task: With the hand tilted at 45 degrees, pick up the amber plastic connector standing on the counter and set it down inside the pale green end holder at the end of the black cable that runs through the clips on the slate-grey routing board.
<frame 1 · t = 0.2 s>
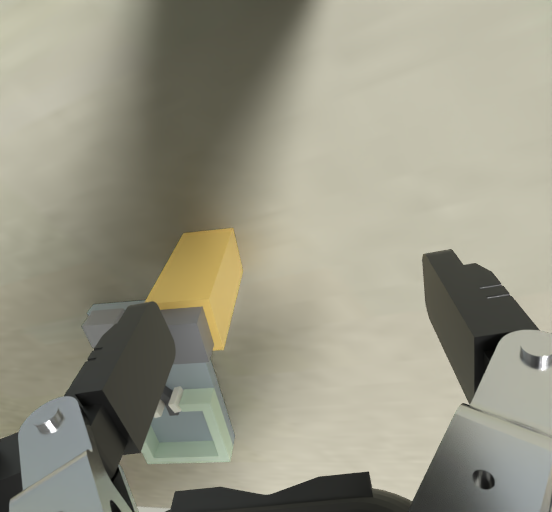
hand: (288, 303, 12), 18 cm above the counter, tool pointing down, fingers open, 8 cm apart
route board: (171, 376, 40), on the counter
connector: (213, 252, 32), on the counter
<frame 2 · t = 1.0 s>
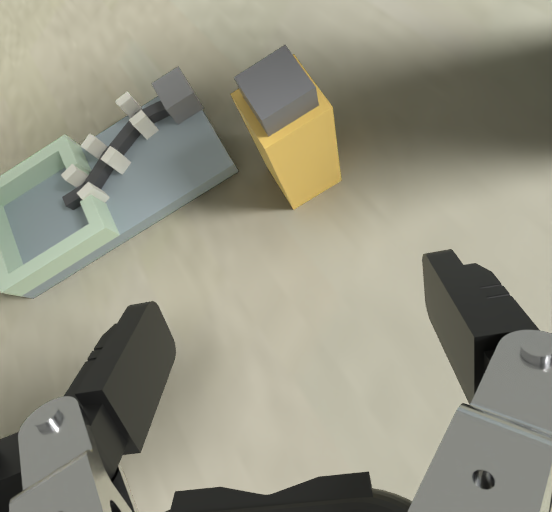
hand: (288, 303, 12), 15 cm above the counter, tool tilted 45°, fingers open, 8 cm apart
route board: (113, 190, 33), on the counter
connector: (303, 173, 30), on the counter
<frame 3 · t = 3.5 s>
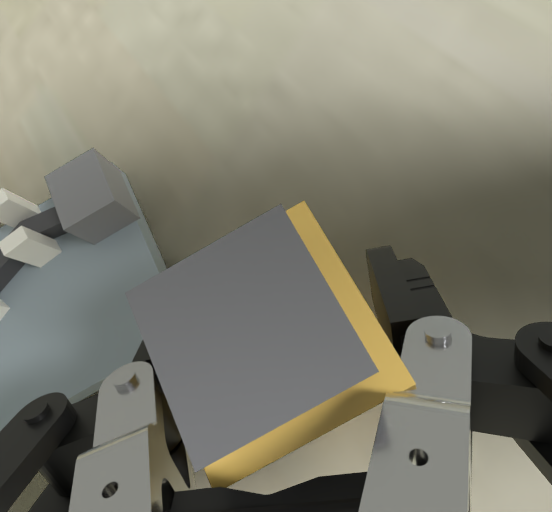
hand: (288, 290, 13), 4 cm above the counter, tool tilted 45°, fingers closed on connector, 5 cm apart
connector: (312, 353, 16), on the counter, touching gripper
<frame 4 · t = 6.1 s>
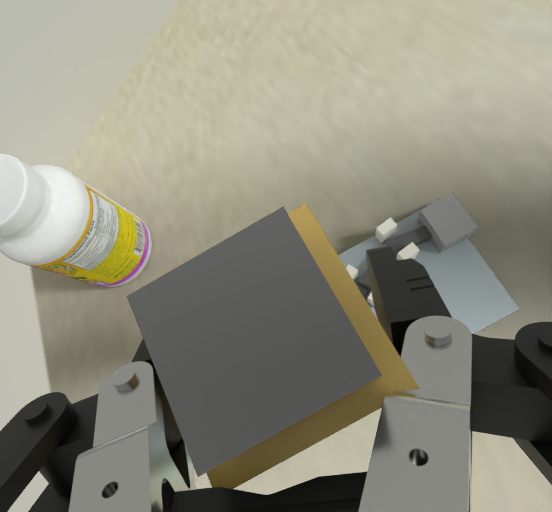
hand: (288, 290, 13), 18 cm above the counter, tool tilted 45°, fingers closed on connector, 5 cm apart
route board: (355, 319, 29), on the counter
connector: (313, 355, 16), point 13 cm above the counter, touching gripper
supplement bottle: (120, 251, 35), on the counter
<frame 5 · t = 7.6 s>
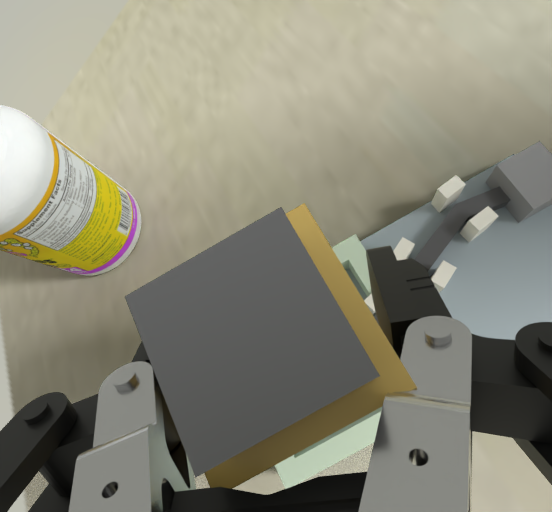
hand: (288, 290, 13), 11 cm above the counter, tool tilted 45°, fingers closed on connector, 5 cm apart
route board: (405, 311, 23), on the counter
connector: (312, 355, 16), point 7 cm above the counter, touching gripper
supplement bottle: (103, 232, 28), on the counter
when the fingers open (7 cm above the counter, at t = 8.8 s): connector drops 1 cm, resting on route board.
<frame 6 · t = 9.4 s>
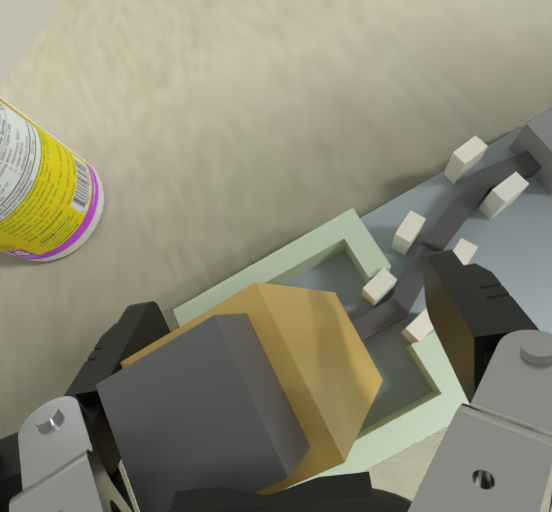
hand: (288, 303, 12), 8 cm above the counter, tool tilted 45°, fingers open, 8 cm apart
route board: (413, 303, 19), on the counter
connector: (316, 356, 17), point 2 cm above the counter, tilted 12°, touching gripper, route board
supplement bottle: (61, 212, 24), on the counter
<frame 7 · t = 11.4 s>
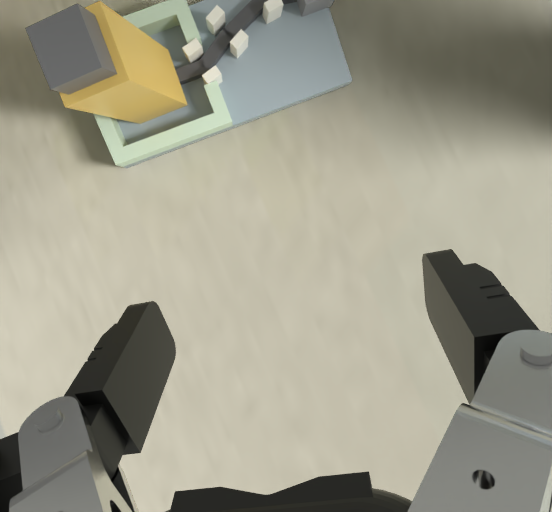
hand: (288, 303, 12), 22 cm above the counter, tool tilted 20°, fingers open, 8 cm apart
route board: (217, 70, 32), on the counter
connector: (153, 87, 30), point 2 cm above the counter, tilted 13°, touching route board
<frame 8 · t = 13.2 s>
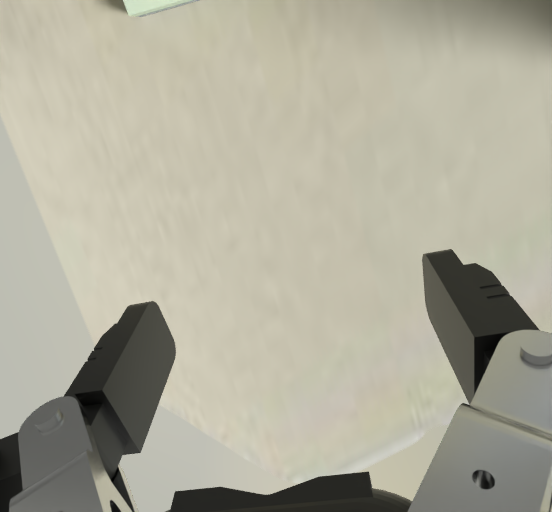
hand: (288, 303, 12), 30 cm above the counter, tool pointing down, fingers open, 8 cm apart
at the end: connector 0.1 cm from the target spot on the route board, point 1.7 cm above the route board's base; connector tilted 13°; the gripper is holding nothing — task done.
